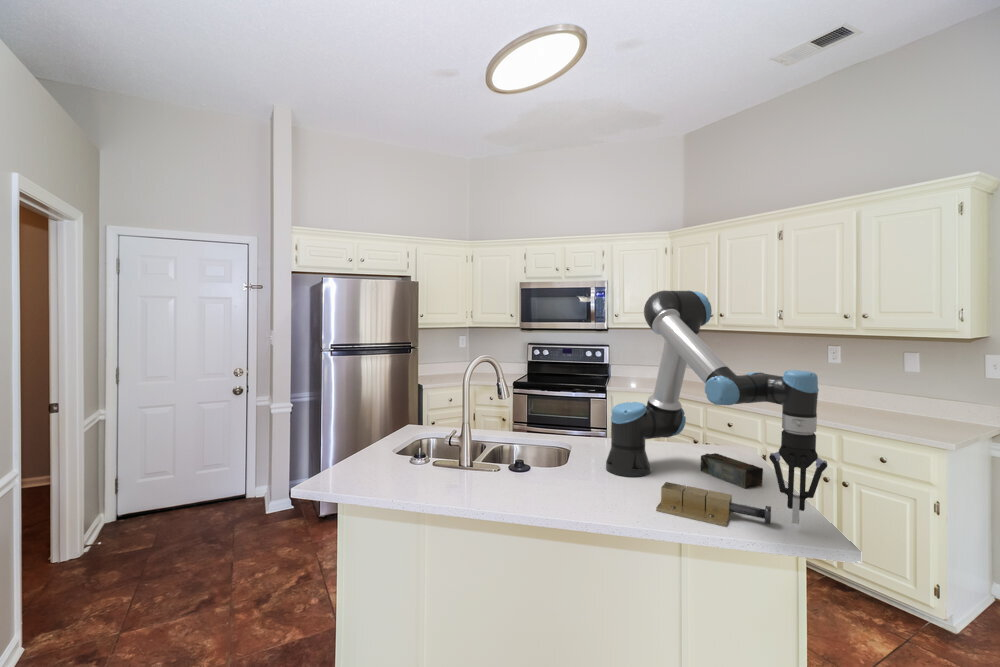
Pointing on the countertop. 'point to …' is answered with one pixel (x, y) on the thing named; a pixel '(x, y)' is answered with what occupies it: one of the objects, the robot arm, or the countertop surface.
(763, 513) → the hinge pin
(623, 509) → the countertop surface
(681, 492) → the hinge
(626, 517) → the countertop surface
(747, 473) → the dark brown rectangular block
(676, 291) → the robot arm
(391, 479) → the countertop surface
